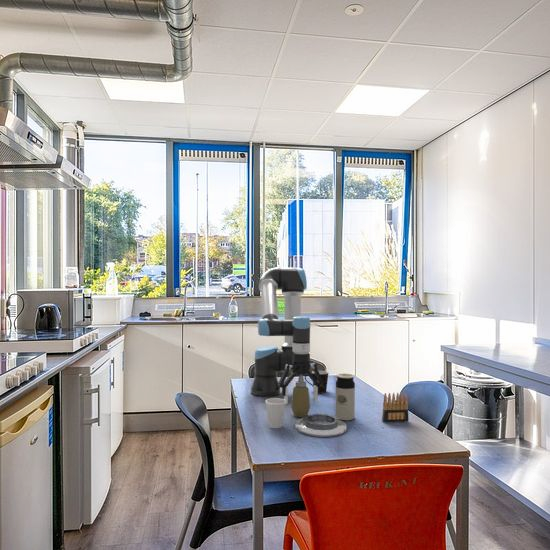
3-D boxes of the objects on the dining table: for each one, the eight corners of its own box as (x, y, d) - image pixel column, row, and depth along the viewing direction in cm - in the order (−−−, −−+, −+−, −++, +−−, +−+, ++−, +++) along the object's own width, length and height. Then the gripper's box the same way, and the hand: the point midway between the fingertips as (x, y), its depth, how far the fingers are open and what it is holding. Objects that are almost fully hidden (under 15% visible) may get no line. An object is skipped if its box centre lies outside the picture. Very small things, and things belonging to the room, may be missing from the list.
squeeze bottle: (297, 419, 182) (297, 376, 182) (287, 414, 189) (288, 372, 189) (313, 416, 186) (314, 374, 186) (303, 411, 193) (304, 370, 193)
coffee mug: (331, 391, 229) (331, 371, 229) (323, 394, 222) (324, 374, 222) (311, 387, 236) (311, 369, 236) (303, 391, 228) (303, 372, 228)
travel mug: (343, 413, 191) (343, 372, 191) (358, 418, 185) (358, 375, 185) (331, 417, 185) (332, 375, 185) (347, 422, 179) (347, 378, 179)
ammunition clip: (406, 420, 182) (407, 391, 182) (408, 422, 180) (408, 392, 181) (382, 421, 181) (382, 392, 181) (383, 422, 179) (383, 393, 179)
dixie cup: (262, 423, 176) (262, 398, 177) (281, 421, 179) (281, 397, 179) (269, 430, 169) (269, 404, 169) (289, 428, 172) (289, 402, 172)
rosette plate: (288, 422, 178) (288, 413, 178) (333, 418, 184) (333, 409, 184) (306, 439, 159) (306, 429, 159) (355, 434, 165) (355, 425, 165)
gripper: (276, 355, 180) (275, 406, 180) (331, 352, 188) (331, 402, 188) (270, 352, 188) (270, 402, 187) (324, 350, 195) (324, 398, 195)
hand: (300, 402), depth 187 cm, fingers open, 13 cm apart
